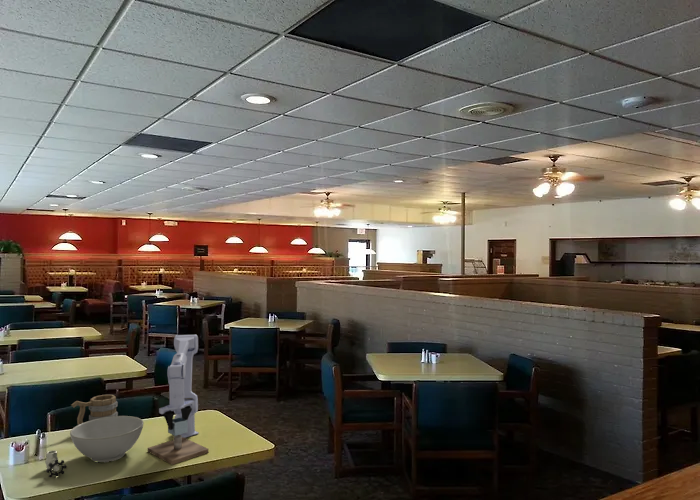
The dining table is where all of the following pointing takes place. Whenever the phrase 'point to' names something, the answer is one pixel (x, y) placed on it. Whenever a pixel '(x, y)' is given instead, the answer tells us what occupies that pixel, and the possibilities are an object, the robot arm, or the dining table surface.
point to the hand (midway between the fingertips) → (177, 427)
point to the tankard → (98, 407)
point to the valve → (54, 463)
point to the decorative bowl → (107, 437)
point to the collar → (179, 426)
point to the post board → (177, 450)
